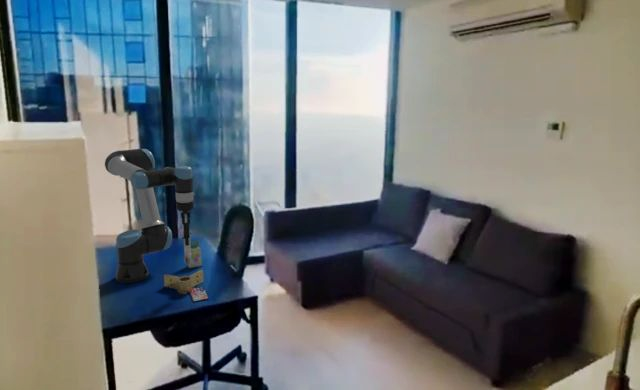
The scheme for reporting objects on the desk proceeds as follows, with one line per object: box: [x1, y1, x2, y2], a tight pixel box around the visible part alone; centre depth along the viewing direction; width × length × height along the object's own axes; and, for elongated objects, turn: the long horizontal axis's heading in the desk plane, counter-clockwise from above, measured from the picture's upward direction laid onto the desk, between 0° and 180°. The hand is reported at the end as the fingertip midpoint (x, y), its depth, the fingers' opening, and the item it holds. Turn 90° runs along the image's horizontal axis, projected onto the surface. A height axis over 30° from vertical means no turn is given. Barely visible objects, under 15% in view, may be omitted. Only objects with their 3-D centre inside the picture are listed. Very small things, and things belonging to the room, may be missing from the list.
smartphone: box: [188, 285, 210, 303], centre depth 209 cm, size 8×1×15 cm
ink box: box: [186, 240, 203, 269], centre depth 240 cm, size 7×4×13 cm, turn 120°
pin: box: [182, 230, 192, 264], centre depth 208 cm, size 3×3×15 cm
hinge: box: [163, 269, 204, 295], centre depth 217 cm, size 15×16×6 cm
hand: (187, 249), depth 208 cm, fingers closed on pin, 3 cm apart
